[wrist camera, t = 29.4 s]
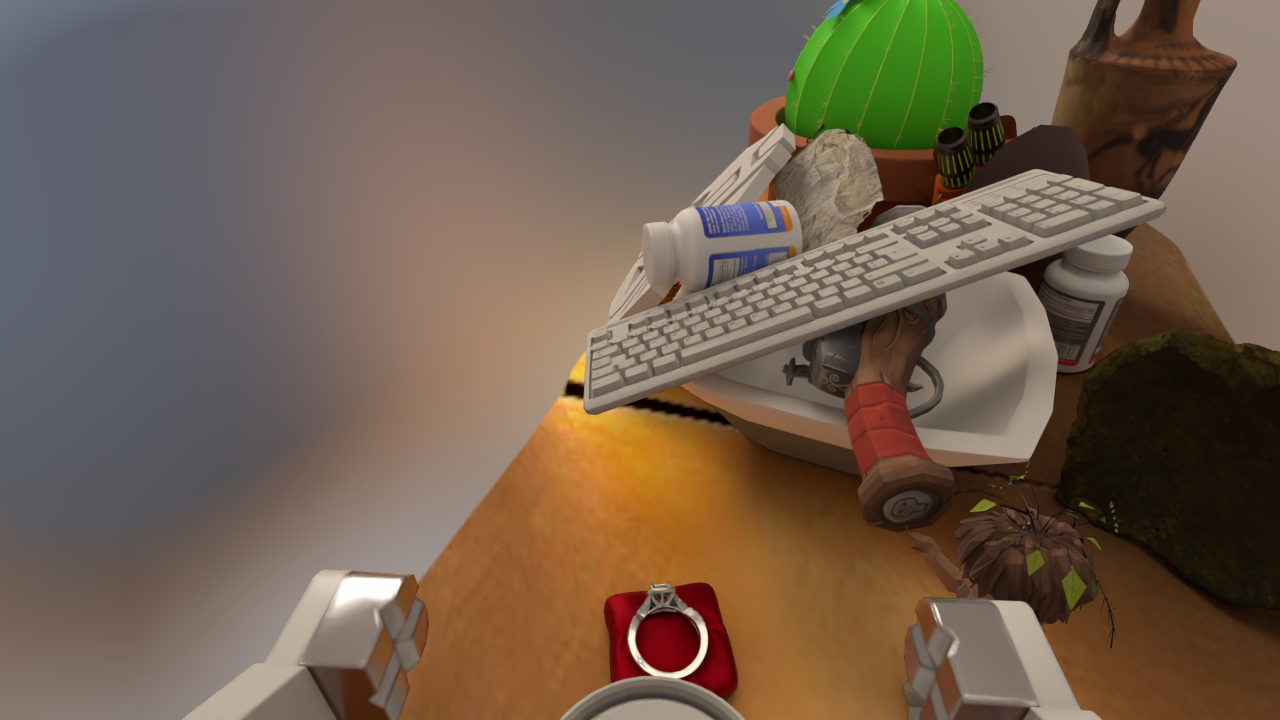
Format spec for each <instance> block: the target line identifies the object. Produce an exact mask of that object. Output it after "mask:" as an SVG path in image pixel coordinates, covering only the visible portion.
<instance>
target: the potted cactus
mask: <svg viewBox="0 0 1280 720" xmlns="http://www.w3.org/2000/svg"><path fill="white" fill-rule="evenodd" d="M837 5H839V6H837ZM835 6H837V7H836V8H834V9H833V10H832V11H831V13H830V14H829V15H828V17H827V18H825V19H826V20H825V21H824V22H823V23H822V24H821V25H820V26H819V28H818V29H816V28H815V29H816V31H815V32H814V34H813V35H812V36H811V38H810V39H809V38H807V37H806V38H807V39H809V41H808V42H807V44H806V45H805V47H804V48H803V50H802V51H801V54H800V56H799V58H798V60H797V62H796V65H795V67H794V69H793V70H792V71H791V72H790V74H789V77H788V80H789V81H790V82H789V85H788V89H787V95H786V96H782V97H779V98H776V99H773V100H771V101H768V102H766V103H764V104H762V105H761V106H759V107H758V108H757V109H756V110H755V111H754V112H753V113H752V115H751V118H750V129H749V141H748V148H749V147H750V146H752V145H753V144H755V143H756V142H757V141H759V140H760V139H762V138H763V137H765V136H766V135H767V134H768V133H769V132H770V131H771V130H773V129H774V128H775V127H777V126H778V125H779V126H780V125H781V124H782V123H783V124H784V125H785V126H786V127H787V128H788V129H789V130H790V131H791V132H792V133H793V134H794V136H795V147H796V150H794V151H793V152H792V153H791V155H792V156H791V158H790V159H789V160H788V161H787V163H789V161H791V159H792V157H795V156H796V155H797V154H798V153H799V152H800V151H801V150H802V148H803V147H805V145H807V144H808V143H809V142H812V141H813V140H815V139H816V138H817V137H818V136H820V135H821V134H822V133H823V132H824V131H826V130H829V129H830V130H832V129H841V130H844V129H849V130H847V131H850V132H851V135H852V134H854V135H856V134H857V135H859V137H860V138H861V137H862V138H863V139H864V138H865V139H864V141H865V143H866V144H868V147H870V149H869V150H871V152H872V156H873V157H874V160H875V164H876V165H877V171H878V175H879V179H880V184H881V186H882V193H883V196H884V198H885V200H882V201H879V202H876V204H875V205H873V208H872V209H871V214H869V215H868V216H867V217H866V218H865V219H863V220H864V221H862V222H861V223H859V227H857V229H856V230H857V231H858V232H857V233H860V232H863V231H865V230H868V229H870V227H871V226H872V224H873V222H874V221H875V219H876V218H877V216H879V215H880V214H882V213H884V212H886V211H888V210H890V209H892V208H894V207H896V206H923V207H925V208H928V207H927V206H926V205H925V203H924V202H923V200H922V199H921V198H920V196H919V195H918V193H917V192H916V189H915V182H916V176H917V172H918V171H919V170H922V171H924V172H926V173H928V174H930V175H931V176H933V177H934V178H936V175H938V174H939V171H938V167H937V165H936V163H935V160H934V157H933V151H934V149H935V148H936V147H937V144H936V139H937V137H938V135H939V134H940V133H941V132H942V131H943V130H945V129H947V128H950V127H959V128H962V129H963V130H965V132H966V136H967V139H968V120H967V115H968V113H969V111H970V110H971V109H972V108H973V107H974V106H976V105H978V104H979V100H980V96H981V91H982V84H983V60H982V51H984V50H985V49H984V50H982V51H981V47H980V43H979V40H978V39H979V38H980V37H979V38H978V37H977V33H978V32H977V33H976V32H975V29H974V27H973V25H972V23H971V22H970V19H971V18H970V19H969V18H968V17H967V15H966V14H965V13H964V12H963V10H962V9H961V8H960V6H959V5H958V4H957V3H956V2H955V1H954V0H839V1H838V2H837V3H836V4H835V5H834V6H833V7H835ZM833 7H831V8H830V9H832V8H833ZM830 9H829V10H830ZM829 10H828V11H829ZM812 27H813V26H812ZM981 37H982V36H981ZM988 71H989V70H988ZM984 72H986V71H984ZM823 124H824V125H825V127H824V129H822V131H820V132H818V134H816V136H814V134H815V133H816V132H817V130H819V129H821V125H823ZM841 133H843V134H844V133H846V132H839V133H837V134H841ZM846 134H848V135H850V133H846ZM810 136H811V137H810ZM813 136H814V138H813ZM809 137H810V139H809V140H808V143H806V142H805V141H807V139H808V138H809ZM864 141H862V142H864ZM865 143H863V144H865ZM787 163H786V164H787ZM783 168H784V167H783ZM783 168H782V169H783ZM782 169H781V170H780V171H779V172H778V173H777V174H776V175H775V177H774V178H773V179H772V181H771V182H770V183H769V192H768V201H776V197H775V193H774V191H773V183H774V181H775V179H776V177H777V176H778V175H779V173H780V172H781V171H782ZM857 233H856V234H857Z"/></svg>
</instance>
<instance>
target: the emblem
mask: <svg viewBox="0 0 1280 720" xmlns="http://www.w3.org/2000/svg"><path fill="white" fill-rule="evenodd" d="M794 150H796V147H795V136H794V134H793V133H792V132H791V131H790V130H789V129H788V128H787V127H786V126H785V125H784V124H783V123H782V124H781V125H780V126H779V125H778V126H777V127H775V128H774V129H773V130H771V131H770V132H769V133H768V134H767V135H766V136H765V137H763V138H762V139H760V140H759V141H757V142H756V143H755V144H753V145H752V146H750V147H749V148H747V149H746V150H745V151H744V152H743V153H742V154H741V155H740V156H739V157H738V158H737V159H736V160H735V161H734V162H733V163H732V164H731V165H730V166H729V167H728V168H727V169H726V170H725V171H724V172H723V173H722V174H721V175H720V176H719V177H718V178H717V179H716V180H715V181H714V182H713V183H712V184H711V185H710V186H709V187H708V188H707V189H706V190H705V191H704V192H703V193H702V194H701V195H700V196H699V197H698V198H697V199H696V200H695V201H694V202H693V203H692V204H691V205H690V206H691V207H689V208H698V207H710V206H720V205H731V204H743V203H753V202H756V201H757V200H758V198H759V197H760V196H761V194H762V193H763V192H764V190H765V189H766V188H767V186H768V185H769V183H770V182H771V181H772V179H773V178H774V177H775V175H776V174H777V173H778V172H779V171H780V170H781V169H782V168H783V167H784V165H785V164H786V163H787V161H788V160H789V159H790V158H791V156H792V155H791V153H792V152H793V151H794ZM689 208H687V209H689ZM675 218H676V217H675ZM675 218H674V219H673V220H672V221H671V222H669V223H668V225H672V224H673V223H674V220H675ZM678 281H679V280H678V279H673V280H672V282H671V283H668V284H666V285H664V284H661V285H650V284H649V283H648V281H647V278H646V275H645V270H644V265H643V256H642V251H641V253H640V256H639V260H638V261H637V262H636V263H635V265H634V266H633V268H632V269H631V271H630V272H629V274H628V275H627V277H626V279H625V280H624V282H623V283H622V285H621V287H620V288H619V290H618V292H617V294H616V296H615V298H614V300H613V302H612V304H611V307H610V310H609V319H610V320H609V321H608V322H607V324H606V325H608V324H610V323H613V322H616V321H619V320H621V319H624V318H627V317H630V316H632V315H635V314H638V313H641V312H643V311H646V310H649V309H652V308H654V307H657V306H658V304H659V303H660V302H661V301H662V300H663V299H664V298H665V297H666V295H667V294H668V292H669V291H670V290H671V288H672V287H673V285H675V284H676V283H677V282H678Z"/></svg>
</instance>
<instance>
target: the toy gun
mask: <svg viewBox="0 0 1280 720" xmlns="http://www.w3.org/2000/svg"><path fill="white" fill-rule="evenodd" d="M923 209H926V208H925V207H923V206H896V207H894V208H892V209H890V210H888V211H886V212H884V213H882V214H880V215H879V216H877V218H876V219H875V221H874V222H873V224H872V226H871V227H870V229H871V228H874V227H876V226H879V225H882V224H885V223H887V222H890V221H893V220H896V219H898V218H901V217H904V216H907V215H909V214H912V213H915V212H918V211H920V210H923ZM946 310H947V300H946V293H942V294H940V295H937V296H934V297H931V298H928V299H925V300H922V301H920V302H917V303H914V304H911V305H908V306H905V307H902V308H900V309H897V310H894V311H891V312H888V313H885V314H883V315H880V316H877V317H874V318H871V319H868V320H865V321H863V322H860V323H857V324H854V325H851V326H848V327H845V328H843V329H840V330H837V331H834V332H831V333H828V334H825V335H823V336H820V337H817V338H814V339H811V340H808V341H805V342H804V343H803V356H804V358H805V359H806V360H807V361H809V362H810V366H808V365H806V364H803V365H796V362H795V358H792V359H791V360H790V362H789V365H787V364H785V365H784V367H783V370H782V372H783V373H785V376H786V382H787V385H788V386H791V385H792V382H793V379H794V377H797V378H808V383H810V384H811V385H813V386H815V387H816V388H818V389H819V390H821V391H823V392H825V393H827V394H830V395H833V396H836V397H839V398H842V399H844V407H845V413H846V419H847V425H848V430H849V435H850V439H851V444H852V448H853V451H854V455H855V458H856V461H857V465H858V468H859V471H860V474H861V477H862V480H863V482H862V484H861V486H860V487H859V488H858V496H859V501H860V505H861V510H862V514H863V518H864V520H865V522H866V523H867V525H869V526H873V527H877V528H882V529H886V530H890V531H895V532H902V531H907V530H911V529H916V528H920V527H925V526H929V525H932V524H934V523H935V522H936V521H937V520H938V519H939V518H940V517H941V516H942V515H944V514H945V513H946V512H947V511H948V510H949V509H950V508H951V507H952V506H953V505H955V504H956V494H955V480H954V477H953V473H952V471H951V470H950V469H949V468H948V467H947V466H946V465H942V464H938V463H935V462H933V461H932V459H931V458H930V457H929V455H928V454H927V453H926V451H925V449H924V447H923V445H922V443H921V441H920V439H919V437H918V435H917V432H916V430H915V427H914V425H913V423H912V420H911V419H914V418H917V417H919V416H921V415H924V414H926V413H928V412H930V411H931V410H932V409H933V408H934V407H935V406H936V405H938V404H939V403H940V401H941V399H942V397H943V390H944V382H943V380H942V378H941V375H940V373H939V371H938V370H937V369H936V368H935V367H934V366H933V365H932V364H931V363H930V362H929V361H927V360H926V359H925V358H923V357H922V356H921V354H922V352H923V350H924V349H925V348H926V347H927V346H928V345H929V344H930V343H931V342H932V340H933V338H934V336H935V334H936V333H935V325H936V323H937V322H938V321H939V320H940V319H941V318H942V317H943V316H944V314H945V312H946ZM916 365H917V366H919V367H920V368H921V369H922V370H923V371H924V372H925V373H926V374H927V375H929V376H930V378H931V380H932V382H933V385H934V387H935V392H934V396H933V397H932V398H930V399H929V400H928V401H927V402H926V403H924V404H922V405H920V406H917V407H915V408H912V409H909V410H908V408H907V405H906V396H907V392H911V393H912V392H915V391H917V390H920V389H923V385H919V384H913V383H911V382H910V379H911V376H912V373H913V371H914V368H915V366H916ZM953 494H955V495H953ZM951 495H953V496H952V497H950V496H951ZM949 497H950V499H949V500H948V498H949ZM947 500H948V501H947Z"/></svg>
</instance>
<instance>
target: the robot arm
mask: <svg viewBox="0 0 1280 720" xmlns="http://www.w3.org/2000/svg"><path fill="white" fill-rule="evenodd" d="M418 588H419V586H418V583H417V581H416V579H415V576H414V575H409V574H392V573H374V572H355V571H345V570H344V571H343V570H321V571H320V572H318V573H317V574H316V575H315V576H314V577H313V578H312V579H311V581H310V583H309V585H308V586H307V588H306V590H305V592H304V593H303V595H302V597H301V599H300V601H299V602H298V604H297V606H296V607H295V609H294V611H293V613H292V614H291V616H290V618H289V620H288V622H287V623H286V625H285V627H284V628H283V630H282V632H281V634H280V635H279V637H278V639H277V641H276V643H275V644H274V646H273V648H272V649H271V651H270V653H269V655H268V657H267V658H266V660H265V662H264V663H255V664H253V665H252V666H251V667H249V668H248V669H246V670H245V671H244V672H243V673H241V674H240V675H239V676H237V677H236V678H235V679H234V680H232V681H231V682H230V683H229V684H227V685H226V686H225V687H223V688H222V689H221V690H219V691H218V692H217V693H215V694H214V695H213V696H211V697H210V698H209V699H208V700H206V701H205V702H204V703H203V704H201V705H200V706H198V707H197V708H196V709H195V710H193V711H192V712H191V713H189V714H188V715H187V716H186V717H184V718H183V719H182V720H399V717H400V715H401V712H402V709H403V706H404V704H405V701H406V698H407V696H408V693H409V690H410V685H409V682H408V679H407V676H406V673H407V672H408V671H410V670H411V669H412V668H413V667H414V666H415V665H416V664H417V663H418V662H419V661H420V660H421V657H422V654H423V651H424V648H425V645H426V640H427V634H428V628H429V620H428V611H427V608H426V605H425V603H424V602H422V601H421V600H420V599H418V598H417V597H415V596H416V594H417V591H418ZM915 612H916V615H917V618H918V622H916V623H915V624H913V625H912V626H910V627H909V628H908V632H907V635H906V638H905V664H906V670H907V675H908V678H909V682H910V686H911V689H912V690H913V691H914V692H915V693H916V694H917V695H918V696H919V697H920V698H921V699H922V700H923V701H924V702H925V705H924V707H923V709H922V712H921V714H920V716H919V719H920V720H1102V719H1101V718H1100V717H1099V716H1097V715H1096V714H1095V713H1094V712H1093V711H1090V710H1081V708H1080V706H1079V704H1078V702H1077V700H1076V698H1075V696H1074V694H1073V692H1072V690H1071V688H1070V686H1069V683H1068V681H1067V679H1066V677H1065V675H1064V673H1063V671H1062V669H1061V667H1060V665H1059V663H1058V661H1057V659H1056V657H1055V655H1054V653H1053V650H1052V648H1051V646H1050V644H1049V642H1048V640H1047V638H1046V636H1045V634H1044V632H1043V630H1042V628H1041V626H1040V624H1039V622H1038V620H1037V617H1036V615H1035V613H1034V611H1033V609H1032V608H1031V607H1030V606H1029V605H1028V604H1027V603H1026V602H1022V601H1000V600H987V599H968V598H933V597H924V598H922V599H921V600H919V602H918V604H917V607H916V609H915Z"/></svg>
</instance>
